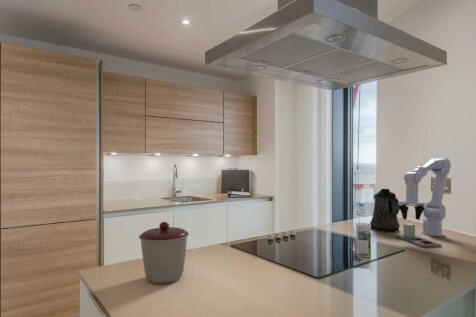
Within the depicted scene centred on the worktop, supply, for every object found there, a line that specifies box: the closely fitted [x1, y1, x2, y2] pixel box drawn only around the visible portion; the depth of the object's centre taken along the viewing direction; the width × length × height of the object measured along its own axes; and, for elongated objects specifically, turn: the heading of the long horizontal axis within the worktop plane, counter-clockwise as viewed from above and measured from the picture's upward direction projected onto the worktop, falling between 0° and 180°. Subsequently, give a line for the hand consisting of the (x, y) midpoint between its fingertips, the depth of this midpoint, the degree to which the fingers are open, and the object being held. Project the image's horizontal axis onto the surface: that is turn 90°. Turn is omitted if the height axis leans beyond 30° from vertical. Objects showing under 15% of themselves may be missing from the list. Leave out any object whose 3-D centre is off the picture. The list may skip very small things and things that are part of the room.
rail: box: [395, 234, 442, 249], centre depth 167 cm, size 21×10×1 cm, turn 7°
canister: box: [138, 221, 190, 285], centre depth 118 cm, size 18×18×21 cm
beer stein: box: [369, 188, 401, 233], centre depth 195 cm, size 16×19×25 cm
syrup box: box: [355, 222, 372, 258], centre depth 144 cm, size 6×6×14 cm
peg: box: [402, 222, 416, 238], centre depth 173 cm, size 4×4×8 cm
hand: (411, 219), depth 172 cm, fingers open, 7 cm apart
